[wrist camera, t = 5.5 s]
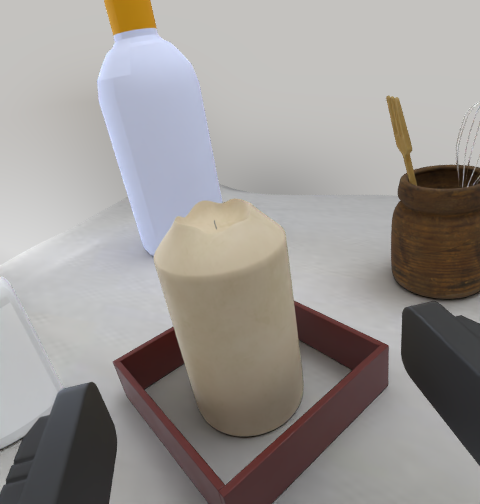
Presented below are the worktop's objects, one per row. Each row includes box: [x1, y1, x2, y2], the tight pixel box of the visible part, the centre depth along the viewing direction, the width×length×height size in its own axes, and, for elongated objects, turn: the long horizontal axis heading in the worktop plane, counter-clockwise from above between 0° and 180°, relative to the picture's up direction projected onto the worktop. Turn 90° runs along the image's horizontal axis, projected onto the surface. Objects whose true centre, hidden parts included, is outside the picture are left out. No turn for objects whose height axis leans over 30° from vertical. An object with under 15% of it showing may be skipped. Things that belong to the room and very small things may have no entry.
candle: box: [154, 199, 303, 436], centre depth 17 cm, size 6×6×10 cm
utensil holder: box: [386, 96, 480, 299], centre depth 23 cm, size 6×6×12 cm
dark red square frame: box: [113, 301, 389, 504], centre depth 19 cm, size 10×10×2 cm
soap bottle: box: [97, 0, 223, 256], centre depth 34 cm, size 9×9×24 cm
